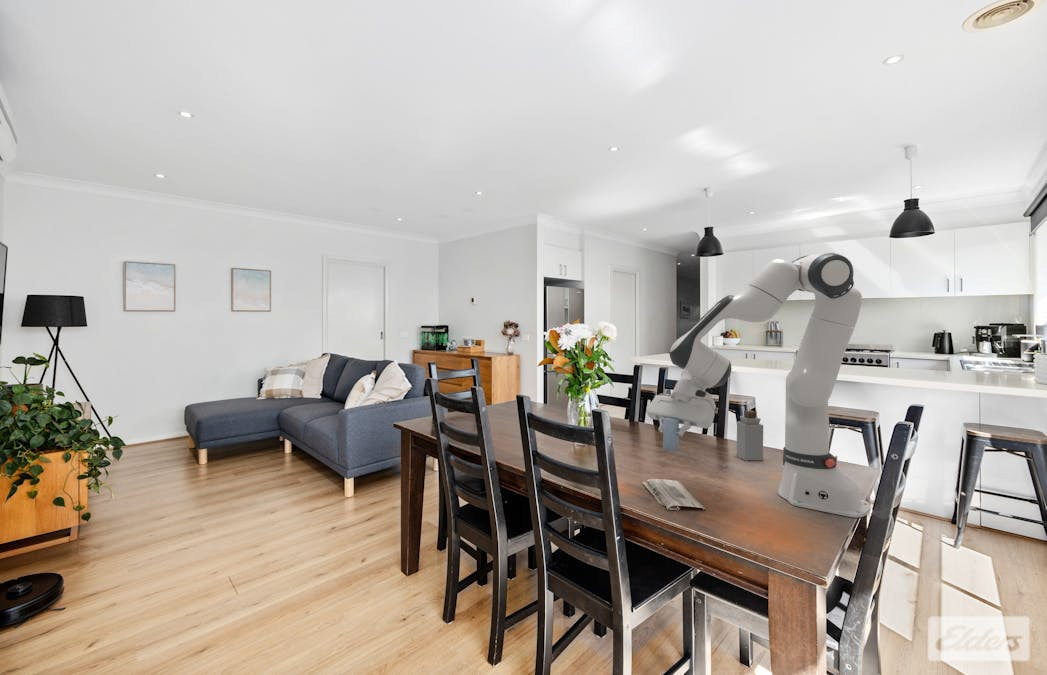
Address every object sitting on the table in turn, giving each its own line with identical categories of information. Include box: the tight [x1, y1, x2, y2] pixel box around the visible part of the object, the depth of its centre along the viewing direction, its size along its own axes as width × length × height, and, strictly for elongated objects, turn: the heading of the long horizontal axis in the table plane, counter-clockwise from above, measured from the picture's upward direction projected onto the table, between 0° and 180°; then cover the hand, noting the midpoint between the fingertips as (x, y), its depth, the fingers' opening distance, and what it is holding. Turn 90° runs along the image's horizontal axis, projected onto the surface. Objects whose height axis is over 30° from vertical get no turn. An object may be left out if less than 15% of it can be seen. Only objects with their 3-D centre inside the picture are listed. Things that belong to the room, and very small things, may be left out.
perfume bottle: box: [736, 410, 764, 462], centre depth 175 cm, size 7×7×18 cm
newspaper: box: [642, 478, 706, 511], centre depth 138 cm, size 23×12×2 cm, turn 0°
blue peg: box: [662, 418, 680, 452], centre depth 138 cm, size 4×4×9 cm
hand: (669, 433), depth 137 cm, fingers closed on blue peg, 4 cm apart
